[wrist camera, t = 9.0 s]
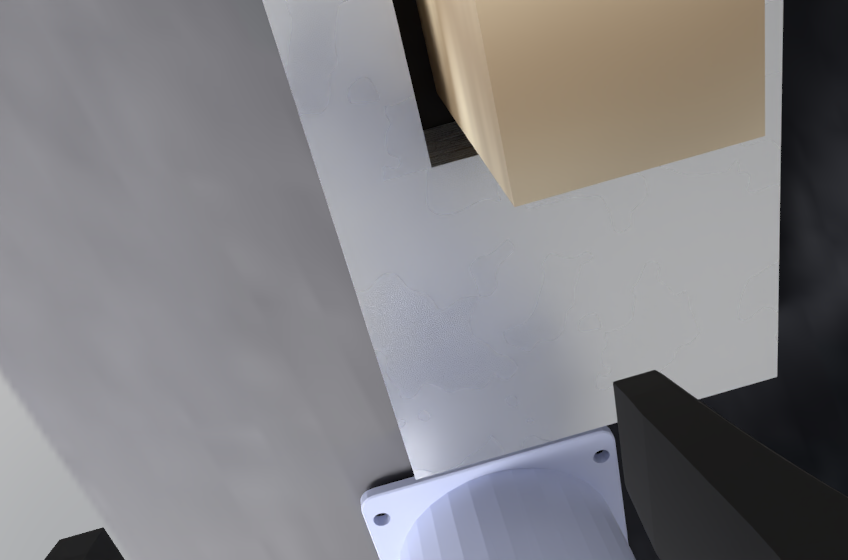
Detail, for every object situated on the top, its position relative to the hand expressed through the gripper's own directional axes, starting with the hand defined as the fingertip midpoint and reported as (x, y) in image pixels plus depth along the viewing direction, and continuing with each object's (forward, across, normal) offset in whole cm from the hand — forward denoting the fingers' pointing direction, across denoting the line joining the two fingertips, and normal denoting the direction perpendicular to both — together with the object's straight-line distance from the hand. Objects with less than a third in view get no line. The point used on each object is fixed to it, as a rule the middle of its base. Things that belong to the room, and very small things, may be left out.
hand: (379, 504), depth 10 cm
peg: (+10, -5, -4) cm, 12 cm away
